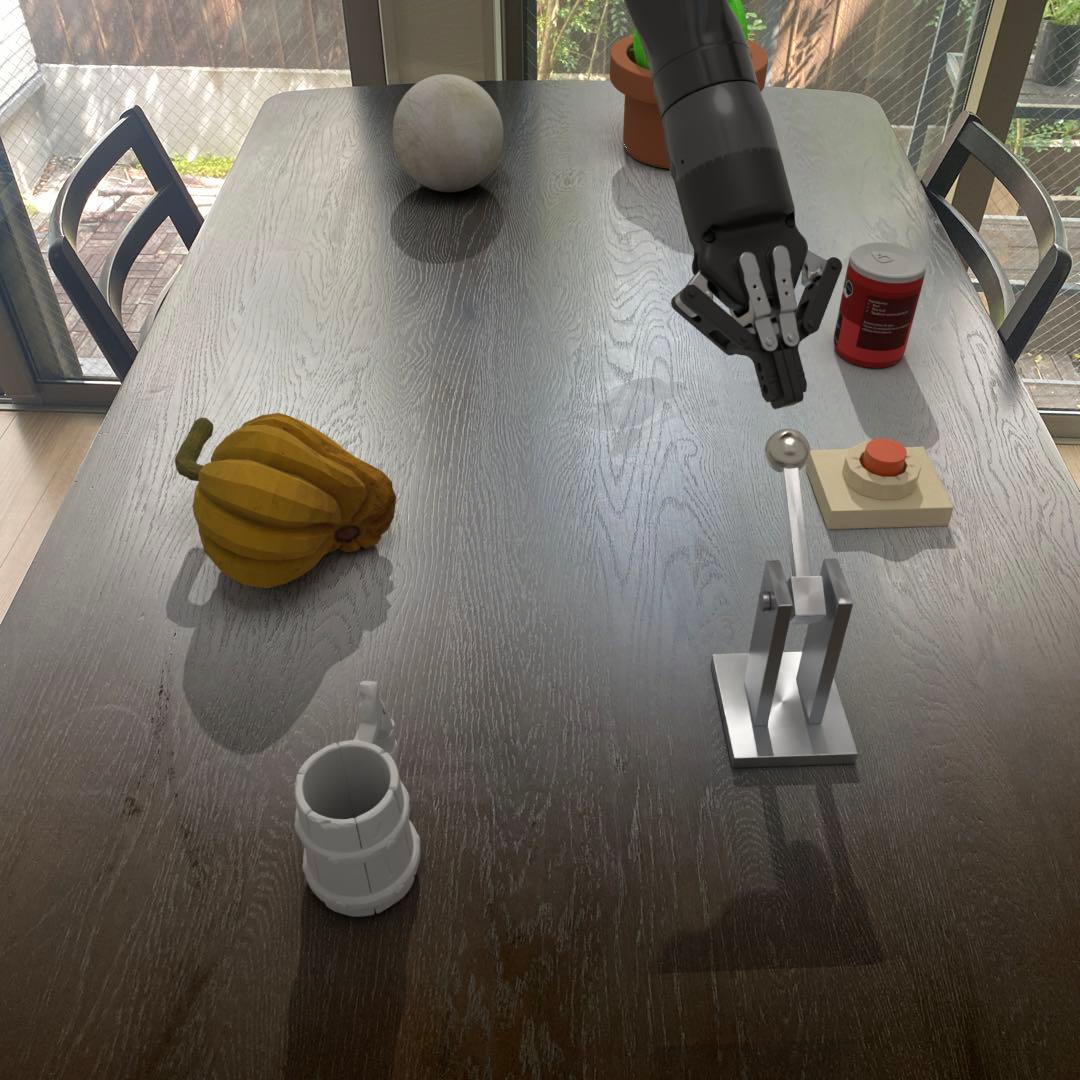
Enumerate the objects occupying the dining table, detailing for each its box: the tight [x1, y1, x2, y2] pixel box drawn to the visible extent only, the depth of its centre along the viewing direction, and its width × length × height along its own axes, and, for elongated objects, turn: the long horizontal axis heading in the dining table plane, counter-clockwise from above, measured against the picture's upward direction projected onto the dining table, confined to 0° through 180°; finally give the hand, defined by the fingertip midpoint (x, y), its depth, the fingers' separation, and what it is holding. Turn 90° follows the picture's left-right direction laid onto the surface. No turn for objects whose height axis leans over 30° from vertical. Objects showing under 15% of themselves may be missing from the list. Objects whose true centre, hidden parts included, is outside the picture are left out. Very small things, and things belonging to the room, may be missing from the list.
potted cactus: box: [609, 0, 769, 170], centre depth 153 cm, size 22×22×25 cm
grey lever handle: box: [763, 428, 827, 625], centre depth 76 cm, size 14×3×3 cm, turn 2°
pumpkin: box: [174, 412, 397, 589], centre depth 91 cm, size 14×16×20 cm
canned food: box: [833, 241, 927, 369], centre depth 116 cm, size 8×8×11 cm
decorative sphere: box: [392, 73, 505, 193], centre depth 147 cm, size 15×15×15 cm
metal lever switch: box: [710, 557, 859, 769], centre depth 77 cm, size 10×9×14 cm
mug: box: [293, 680, 421, 918], centre depth 70 cm, size 8×12×12 cm, turn 172°
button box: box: [805, 440, 955, 530], centre depth 99 cm, size 11×9×4 cm
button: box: [862, 437, 907, 477], centre depth 98 cm, size 4×4×2 cm
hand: (788, 404), depth 76 cm, fingers closed
